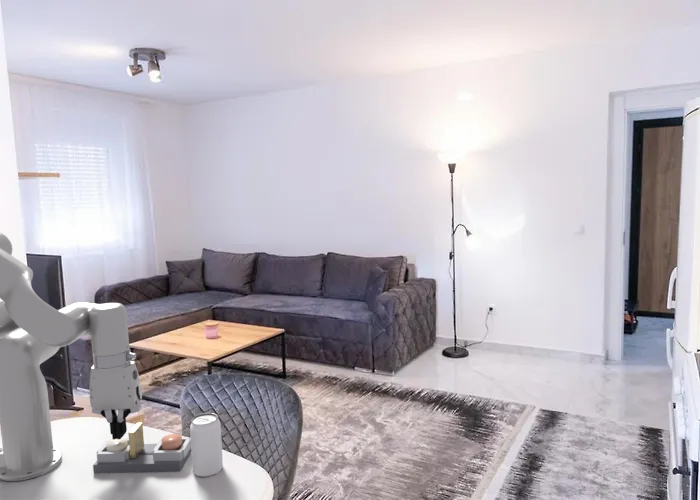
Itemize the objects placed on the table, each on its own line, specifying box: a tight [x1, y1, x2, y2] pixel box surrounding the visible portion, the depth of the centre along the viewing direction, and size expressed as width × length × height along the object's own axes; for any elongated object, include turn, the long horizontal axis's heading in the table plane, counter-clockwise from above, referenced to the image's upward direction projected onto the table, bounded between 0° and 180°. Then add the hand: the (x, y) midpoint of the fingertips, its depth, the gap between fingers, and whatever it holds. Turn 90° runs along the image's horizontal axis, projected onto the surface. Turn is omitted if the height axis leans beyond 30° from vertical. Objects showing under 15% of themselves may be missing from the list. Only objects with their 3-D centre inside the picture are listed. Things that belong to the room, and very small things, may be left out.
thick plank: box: [128, 422, 145, 458], centre depth 120 cm, size 1×5×6 cm, turn 0°
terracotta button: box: [160, 433, 183, 450], centre depth 120 cm, size 4×4×2 cm
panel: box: [92, 436, 192, 475], centre depth 120 cm, size 20×9×4 cm, turn 90°
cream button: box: [106, 437, 128, 452], centre depth 120 cm, size 4×4×2 cm
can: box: [189, 412, 224, 478], centre depth 116 cm, size 6×6×12 cm
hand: (119, 436), depth 119 cm, fingers closed
